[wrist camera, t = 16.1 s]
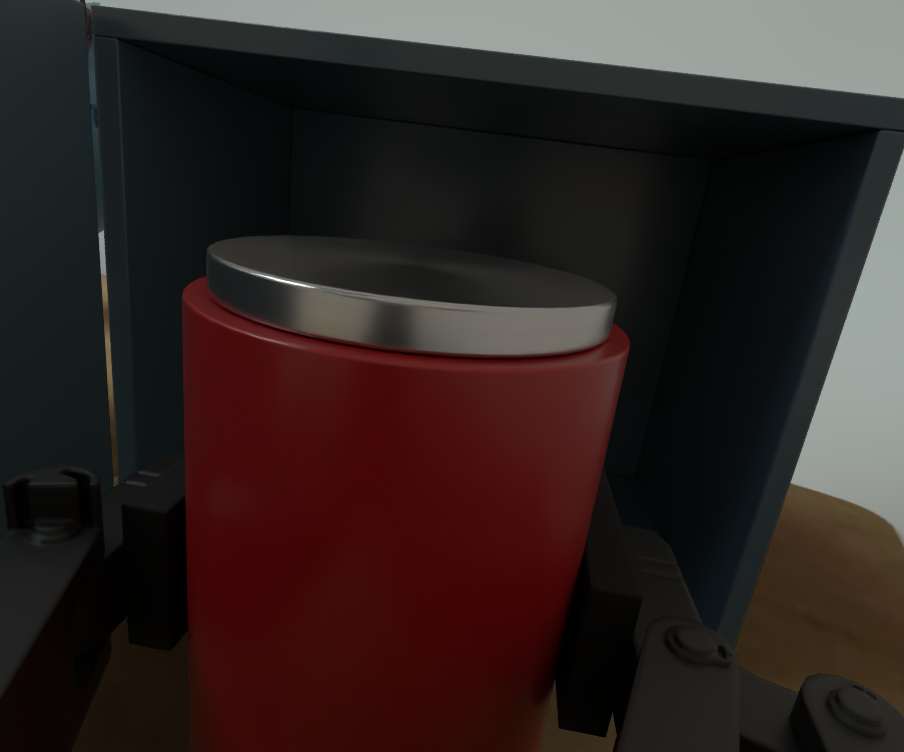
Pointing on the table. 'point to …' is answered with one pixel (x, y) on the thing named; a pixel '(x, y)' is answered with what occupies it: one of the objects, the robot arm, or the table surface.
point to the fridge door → (49, 249)
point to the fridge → (515, 231)
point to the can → (386, 491)
